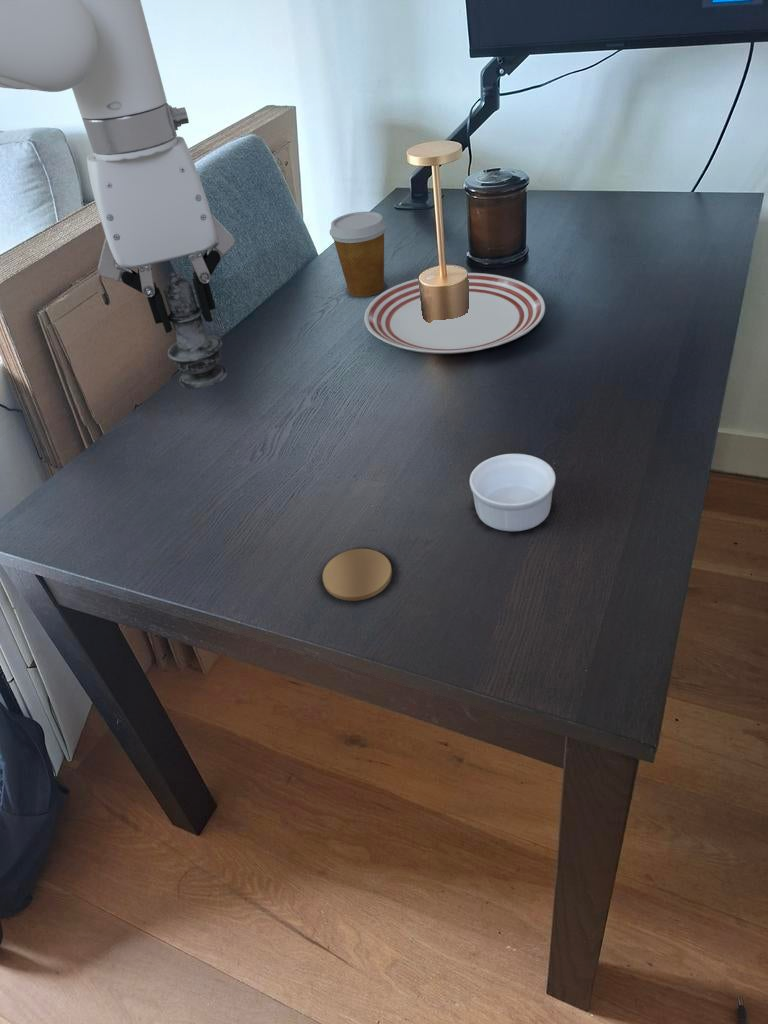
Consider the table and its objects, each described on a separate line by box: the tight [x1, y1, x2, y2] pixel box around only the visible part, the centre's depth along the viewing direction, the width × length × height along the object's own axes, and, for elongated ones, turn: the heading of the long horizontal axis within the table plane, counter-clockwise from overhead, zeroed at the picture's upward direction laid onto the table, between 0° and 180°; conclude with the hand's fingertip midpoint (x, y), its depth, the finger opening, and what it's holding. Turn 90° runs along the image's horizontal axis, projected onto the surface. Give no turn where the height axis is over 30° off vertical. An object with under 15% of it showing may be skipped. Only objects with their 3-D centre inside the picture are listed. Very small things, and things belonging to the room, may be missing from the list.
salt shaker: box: [163, 270, 228, 390], centre depth 80 cm, size 6×6×12 cm
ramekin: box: [469, 453, 557, 532], centre depth 80 cm, size 9×9×4 cm
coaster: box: [322, 548, 393, 602], centre depth 76 cm, size 7×7×1 cm
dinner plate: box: [363, 272, 546, 355], centre depth 117 cm, size 28×27×3 cm
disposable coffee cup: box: [329, 211, 387, 298], centre depth 129 cm, size 10×10×12 cm
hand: (187, 320), depth 79 cm, fingers closed on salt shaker, 3 cm apart
